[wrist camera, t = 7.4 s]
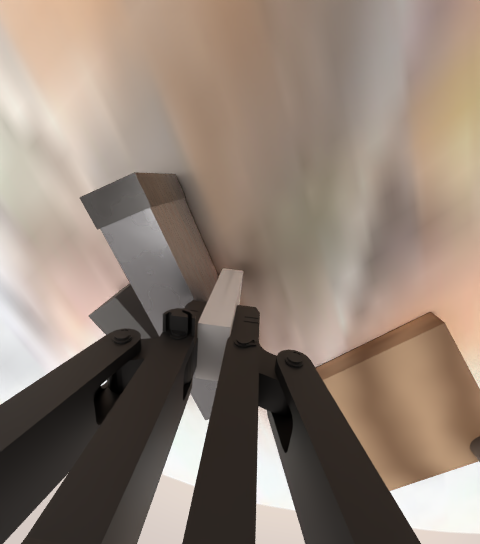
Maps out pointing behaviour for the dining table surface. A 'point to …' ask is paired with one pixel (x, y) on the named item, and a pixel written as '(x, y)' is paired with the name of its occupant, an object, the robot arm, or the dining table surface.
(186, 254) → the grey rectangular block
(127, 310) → the stop block
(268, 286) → the dining table surface
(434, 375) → the cabinet door
